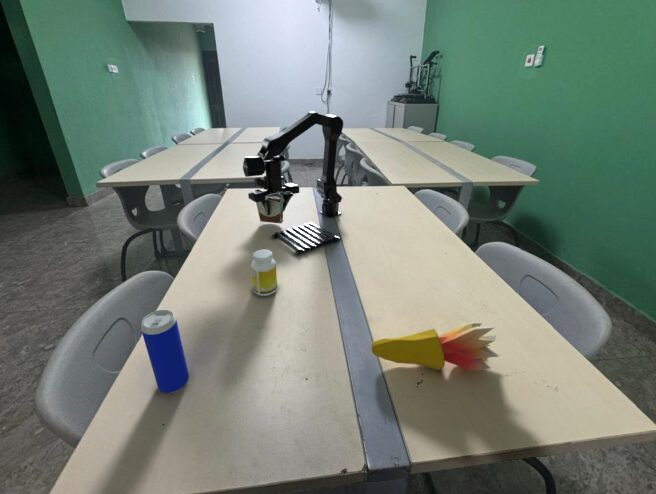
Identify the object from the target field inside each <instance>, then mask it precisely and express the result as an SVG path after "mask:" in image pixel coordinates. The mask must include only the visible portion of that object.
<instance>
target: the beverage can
mask: <svg viewBox="0 0 656 494" xmlns="http://www.w3.org/2000/svg"><path fill="white" fill-rule="evenodd" d="M140 330H141V334H142V338H143V341H144V345H145V348H146V351H147V354H148V359H149V362H150V365H151V369H152V372H153V375H154V379H155V382H156V386H157V389H158V391H159V392H161V393H163V394H174V393H177V392H179V391H180V390H182V389H183V388H184V387H185V386H186V385H187V383H188V381H189V379H190V373H189V369H188V365H187V359H186V355H185V350H184V346H183V342H182V338H181V333H180V329H179V324H178V321H177V317H176V315H175V314H174V312H173V311H172V310H169V309H157V310H154V311H152V312H150V313H148V314H147V315H145V316H144V317H143V319H142V320H141V325H140Z"/></svg>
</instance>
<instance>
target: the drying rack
mask: <svg viewBox="0 0 656 494" xmlns="http://www.w3.org/2000/svg"><path fill="white" fill-rule="evenodd" d="M271 237H272V239H278V238H279V239H281V240H282V241H284V242H285V243H286V244H288V245H289V246H290V247H292V248H294V249H295V250H296V251H295V255H297V256H300V255H302V254H305V253H307V252H311V251H313V250H316V249H319V248H323V247H324V246H328V245H330V244H332V243H335V242H338V241H340V240H341V237H340V236H337V235H336V234H335V233H332V232H331V231H329V230H326V229H325V228H323V227H321V226H320V225H317V224H316V223H315V222H312V221H310V222H308V223H303V224H302V225H301V224H299V225H297V227H296V226H293V227H291V228H286V230H284V229H282V230H280V231H279V232H278V231H275V232H274V233H273V234H272V235H271Z"/></svg>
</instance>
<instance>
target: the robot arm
mask: <svg viewBox="0 0 656 494" xmlns="http://www.w3.org/2000/svg"><path fill="white" fill-rule="evenodd" d="M315 125H318V126H321V130H322V135H323V137H324V146H323V160H322V161H323V162H322V171H321V172H322V174H321V176H320V178H316V186H315V189H316V191H317V193H318V194H319V195H320V198H321V199H322V203H321V211H320V214H322V215H324V216H326V217H328V218H332V217H335V216H338V215H341V214H342V212H340V211H339V207H340V205H339V204H340V203H341V202H342V200H343V196H342V195H340V193H338V185H337V182H336V178H335V172H336V171H335V170H336V159H337V148H338V141H339V139H340V137H341V135H342V133H343V129H344V120H343V119H342V117H340V116H338V115H333V114H326V115H324V114H321V113H318V112H316V111H308V112H307V113H306V114H305V115H303V116H302V117H301V118H299V119H298V120H296V121H295V122H294V123H292V124H291V125H289V126H288V127H287V128H285V129H284V130H282V131H280V132H276V133H273V134H271V135H269V136H266V137H265V138H264V139H263V140H262V143H261V147H260V148H259V150H258V152H257V153H256V155H255V156H244V157H243V163H242V171H243V175H244V177H246V178H249V177H256V178H253V180H254V181H253V182H254V187H256V188H258V187H259V188H258V189H253V190H249V192H248V195H247V196H248V199H249V200H250V201H252V202H254V203H256V202H261V203H262V204H263V206H264V209H265V211H266V213H267V215H268V216H269V215H270V200H268V196H270V195H275V194H281V195H282V196H283V198H284V202H283V213H284V212H285V210H286V209H287V206H288V204H289V202H290V201H291V199H292V198H293V197H294V195H296V194H299V193H300V186H299V185H298V184H295V183H293V182H288V183H284V184H283V181H284V180H285V177H284V176H283V173H282V162H286V161H288V159H287V158H286V157H285V156H284V154H282V153H283V152H284V151H285V150H286V149H287V148H288V146H289V145H290V143H292V142H293V141H295V139H297V138H298V137H299V136H301V135H303V134H305V132H307V131H308V130H309V129H311V128H312V127H314V126H315ZM264 174H265V175H264ZM258 176H263V179H262V178H261V177H258ZM262 189H263V191H262Z"/></svg>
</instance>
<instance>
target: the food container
mask: <svg viewBox="0 0 656 494" xmlns="http://www.w3.org/2000/svg"><path fill="white" fill-rule="evenodd" d="M268 200H270V215H269V216H268V215H267V213H266V211H265V209H264V206H263V204H262V203H261V202H255V203H256V208H257V214H258V217H259V222H261V223H262V222H263V223H273V224H282V223H283V222H284V212H283V202H284V198H283V196H282V195H281V194H280V193H279V194H275V195H270V196H268Z"/></svg>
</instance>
